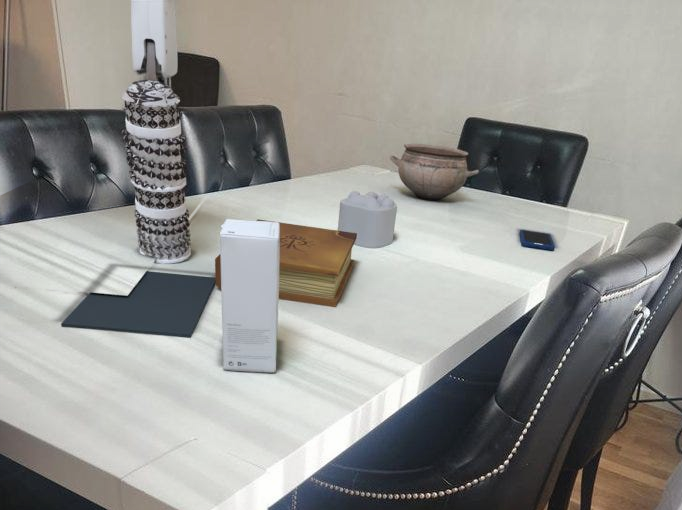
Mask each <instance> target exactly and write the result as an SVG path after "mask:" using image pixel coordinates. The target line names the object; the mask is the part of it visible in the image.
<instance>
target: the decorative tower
mask: <svg viewBox="0 0 682 510" xmlns="http://www.w3.org/2000/svg"><path fill="white" fill-rule="evenodd" d="M121 98H122V100H124V101H123V102H124V109H125V120H124V121H125V125H124V127H123V130H122V131H121V134H122V138H123V140H124V142H125V146H124V150H125V151H126V152H125V153H126V163H127V165H128V166H130V167H129V170H128V174H129V175H130V176H129V177H130V183H131V184H132V185H133V186H134V193H135V198H134V204H135V209H134V211H133V213H134V216H135V218H136V219H135V226H136V227H137V228H136V236H137V245H138V247H139V253H140V254H142V255H143V256H150V257H152V258H156V259H154V261H153V263H157V264H164V265H166V264H168V265H171V264H176V263H181V262H183V261H186V260H187V259H189V258H190V256H191V255H192V254H191V253H192V252H191V250H192V249H191V247H190V246H192V243H191V238H190V237H191V232H190V231H191V230H190V228H189V227H190V220H189V218H190V214H189V209H187V201H186V200H187V199H186V198H185V186H187V176H188V172H187V170H186V169H185V167H186V166H187V165H188V162H187V161H186V159H185V158H183V157H182V156H183V155H185V154H186V152H187V151H188V148H187V147H186V146H185V145H184V144H185V143H186V141H187V136H186V135H184V133H182V125H181V123H182V122H181V119H180V109H179V103H180V102H181V98H180V97H179V96H178V95H177V94H176V93H175V92H174V91H173V88H172V87H171V88H170V87H169V86H168V85H166V84H164V83H161V82H158V81H149V80H147V79H142V80H135V81H133V82H131V83H129V84H128V87H127V89H126V90H125V91H123V92H122V93H121Z"/></svg>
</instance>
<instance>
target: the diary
mask: <svg viewBox="0 0 682 510" xmlns="http://www.w3.org/2000/svg"><path fill="white" fill-rule="evenodd" d="M255 221H266V222H274V221H273V220H266V219H260V218H259V219H258V218H257V219H256V220H255ZM276 222H277V223H279V225H280V259H279V300H283V301H291V302H298V303H304V304H312V305H319V306H325V307H331V308H332V307H333V308H337V306H338V303H339V301H340V299H341V296H342V294H343V291H344V289H345V287H346V285H347V283H348V280H349V278H350V275H351V273H352V270H353V268H354V266H355V259H352V252H353V247H354V245H355V244H354V243H355V241H356V239H357V233H351V232H344V231H338V229H337V230H336V229H329V228H322V227H315V226H308V225H301V224H295V223H294V224H293V223H288V222H287V223H286V222H280V221H276ZM214 271H215V272H214V273H215V275H214V276H215V281H216V283H215V285H216V287H217V288H218V289H219V290H220V291H221V258H220V254H218V255H217V257H215V259H214Z"/></svg>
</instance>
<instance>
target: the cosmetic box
mask: <svg viewBox="0 0 682 510" xmlns="http://www.w3.org/2000/svg"><path fill="white" fill-rule="evenodd" d="M266 221H267V220H266ZM266 221H256V220H245V219H234V218H233V219H232V218H226V219H225V221H224V223H223V224H221V225H220V228H221V230H220V233H219V251H220V253H219V255H220V258H221V290H220V294H221V322H222V323H221V325H222V367H223V370H225V371H232V372H233V371H234V372H250V373H251V372H252V373H276V371H277V355H278V333H279V331H278V329H279V328H278V327H279V300H280V299H279V259H280V225H279V223H277V222H278V221H273V222H266Z"/></svg>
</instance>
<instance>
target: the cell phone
mask: <svg viewBox="0 0 682 510" xmlns="http://www.w3.org/2000/svg"><path fill="white" fill-rule="evenodd" d="M519 238H520V243H521V246H522V247H528V248H535V249H542V250H546V251H548V250H549V251H555V248H556V245H555V243H554V240H553V237H552V235H551V233H549V232H548V233H547V232H542V231H541V232H540V231H534V230H527V229H520V230H519Z"/></svg>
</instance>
